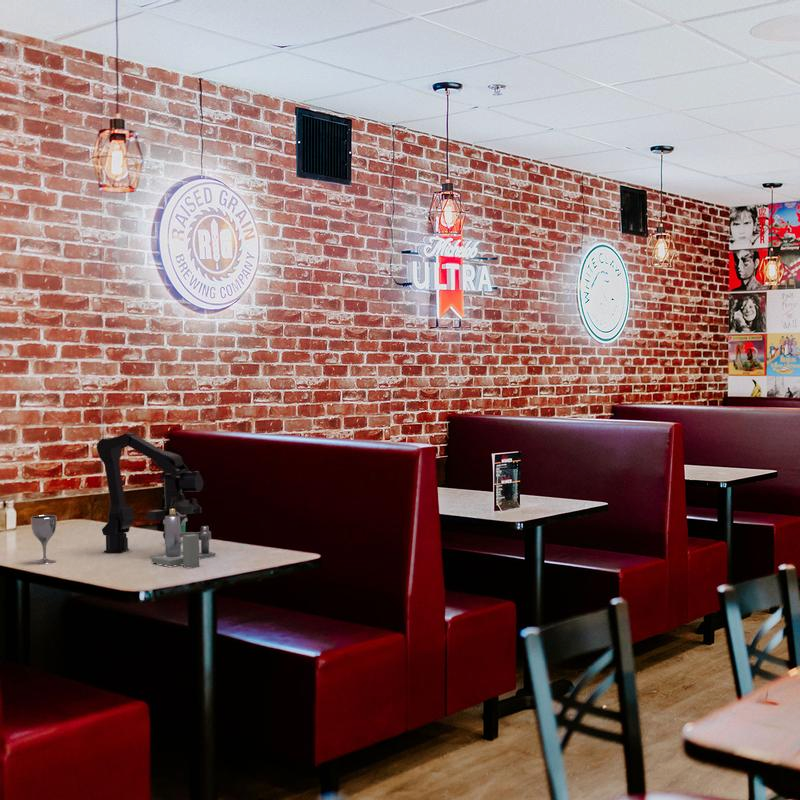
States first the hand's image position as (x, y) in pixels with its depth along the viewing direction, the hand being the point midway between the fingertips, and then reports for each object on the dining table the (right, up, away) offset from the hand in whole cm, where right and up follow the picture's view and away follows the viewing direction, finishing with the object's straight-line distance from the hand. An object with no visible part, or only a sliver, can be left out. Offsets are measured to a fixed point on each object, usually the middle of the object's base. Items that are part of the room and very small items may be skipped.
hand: (175, 537), depth 340 cm
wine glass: (-41, -7, -11) cm, 43 cm away
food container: (-4, -6, +24) cm, 25 cm away
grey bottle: (+3, -4, -16) cm, 16 cm away
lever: (+5, -5, -3) cm, 7 cm away
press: (+9, -6, -14) cm, 17 cm away
